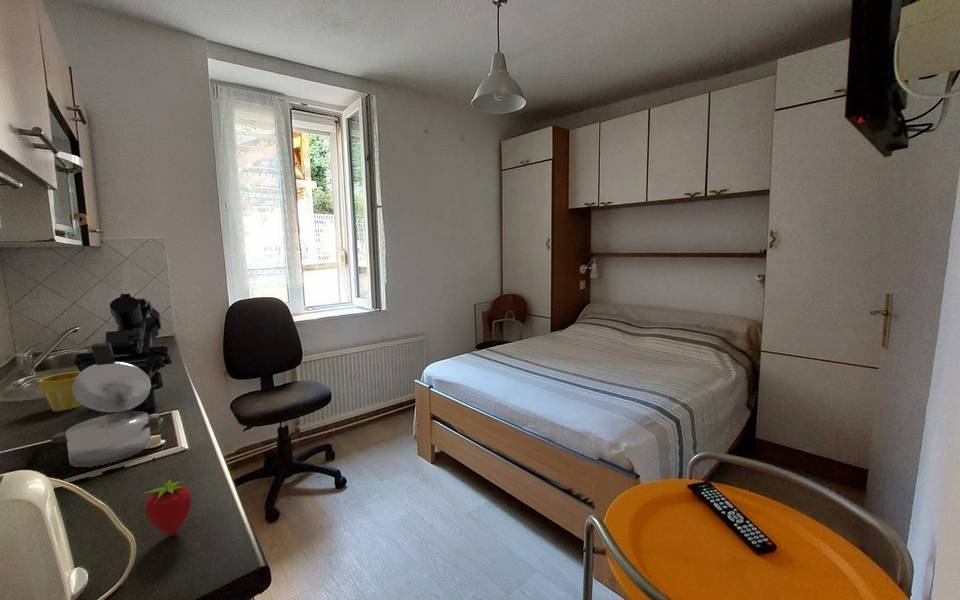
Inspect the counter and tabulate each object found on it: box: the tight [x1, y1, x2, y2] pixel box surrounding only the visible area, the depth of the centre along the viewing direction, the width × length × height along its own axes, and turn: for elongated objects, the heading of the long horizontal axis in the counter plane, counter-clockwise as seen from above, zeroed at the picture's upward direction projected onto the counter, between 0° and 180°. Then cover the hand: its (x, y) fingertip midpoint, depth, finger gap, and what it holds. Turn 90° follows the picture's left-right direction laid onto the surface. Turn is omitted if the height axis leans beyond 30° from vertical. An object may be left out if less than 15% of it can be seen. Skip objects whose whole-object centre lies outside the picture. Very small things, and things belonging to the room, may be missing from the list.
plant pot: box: [38, 371, 83, 412], centre depth 123 cm, size 10×10×10 cm
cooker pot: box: [50, 411, 163, 468], centre depth 93 cm, size 14×19×7 cm
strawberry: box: [143, 476, 193, 537], centre depth 64 cm, size 6×8×10 cm
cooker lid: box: [72, 342, 151, 413], centre depth 96 cm, size 19×14×2 cm
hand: (120, 387), depth 101 cm, fingers open, 9 cm apart
